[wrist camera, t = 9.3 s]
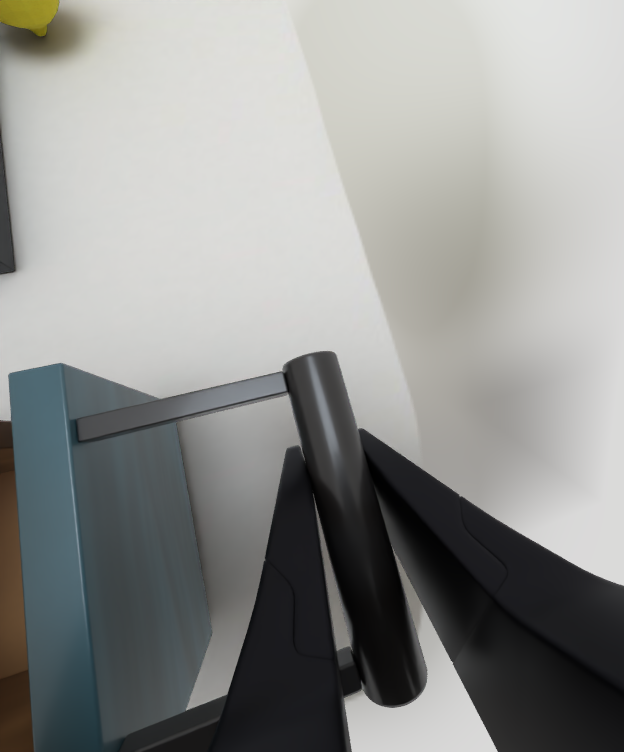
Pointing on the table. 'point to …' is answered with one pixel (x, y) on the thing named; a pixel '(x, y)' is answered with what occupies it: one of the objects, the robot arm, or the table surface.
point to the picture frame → (4, 225)
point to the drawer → (161, 559)
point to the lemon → (29, 14)
